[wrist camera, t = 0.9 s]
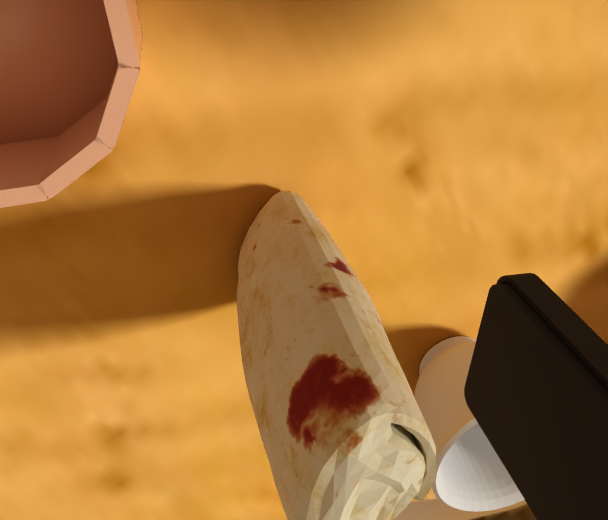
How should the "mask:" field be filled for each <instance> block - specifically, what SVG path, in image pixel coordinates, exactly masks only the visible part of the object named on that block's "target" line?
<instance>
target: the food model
mask: <svg viewBox="0 0 608 520" xmlns="http://www.w3.org/2000/svg"><path fill="white" fill-rule="evenodd" d="M236 295H237V312H238V325H239V335H240V345H241V355H242V363H243V369H244V375H245V380H246V384H247V388H248V392H249V396H250V400H251V403H252V406H253V410H254V413H255V417H256V420H257V424H258V427H259V431H260V435H261V438H262V441H263V444H264V447H265V450H266V453H267V456H268V459H269V462H270V466H271V470H272V473H273V477H274V481H275V484H276V487H277V490H278V493H279V496H280V499H281V502H282V505H283V508H284V511H285V513H286V516H287V519H288V520H393V519H395V518H396V517H397V516H398V515H399V514H400V513H401V512H402V511H403V510H404V509H405V508H406V506H407V505H408V504H409V503H410V502H411V501H412V499H416V500H422V501H424V499H425V497H426V496H427V494H428V492H429V490H430V488H431V487H432V485H433V483H434V481H435V480H436V478H437V472H436V446H435V444H434V441H433V438H432V436H431V433H430V431H429V428H428V426H427V424H426V422H425V420H424V418H423V415H422V413H421V411H420V409H419V407H418V404H417V402H416V400H415V397H414V395H413V393H412V390H411V388H410V386H409V383H408V381H407V379H406V376H405V374H404V372H403V370H402V368H401V366H400V364H399V362H398V360H397V358H396V355H395V353H394V351H393V349H392V347H391V344H390V342H389V340H388V337H387V335H386V333H385V330H384V328H383V325H382V323H381V320H380V318H379V315H378V313H377V310H376V308H375V306H374V304H373V302H372V300H371V298H370V296H369V294H368V292H367V290H366V289H365V287H364V286H363V284H362V283H361V281H360V280H359V278H358V277H357V275H356V274H355V272H354V271H353V269H352V268H351V266H350V265H349V263H348V262H347V260H346V259H345V257H344V256H343V254H342V252H341V251H340V249H339V248H338V246H337V245H336V243H335V242H334V240H333V239H332V237H331V236H330V234H329V233H328V231H327V229H326V228H325V226H324V225H323V224H322V223H321V221H320V220H319V219H318V218H317V216H316V215H315V214H314V213H313V211H312V210H311V209H310V207H309V206H308V205H307V204H306V203H305V202H304V200H303V199H302V198H301V197H300V196H299V195H298V194H296V193H293V192H290V191H280V192H278V193H277V194H275V195H273V196H272V197H271V199H270V200H269V201H268V202H267V203H266V204H265V206H264V207H263V208H262V209H261V210H260V212H259V213H258V215H257V217H256V218H255V220H254V221H253V223H252V224H251V226H250V228H249V230H248V232H247V235H246V237H245V239H244V242H243V244H242V247H241V250H240V255H239V260H238V287H237V293H236Z"/></svg>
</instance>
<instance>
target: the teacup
mask: <svg viewBox="0 0 608 520" xmlns="http://www.w3.org/2000/svg"><path fill="white" fill-rule="evenodd" d="M475 344H476V340H475V339H473V338H470V337H466V336H456V337H451V338H448V339H446V340H443V341H441V342H439V343H438V344H436V345H435V346H433V347H432V348H431V349H430V350H429V351H428V352H427V353H426V354H425V356H424V357H423V359H422V361H421V363H420V367H419V375H420V377H419V379H418V382H417V384H416V388H415V396H414V397H415V400H416V402H417V404H418V407H419V409H420V411H421V413H422V415H423V418H424V420H425V422H426V424H427V426H428V428H429V431H430V433H431V436H432V438H433V441H434V444H435V446H436V472H437V478H436V480H435V481H434V483H433V485H432V489H433V492H434V493H435V495H436V497H437V498H438V499H439V500H440V501H442V502H444V503H445V504H446V505H449V506H451V507H454V508H457V509H461V510H465V511H489V510H495V509H499V508H503V507H507V506H510V505H513V504H515V503H518V502H520V501H523V500H525V499H524V497H523V496H522V494H521V493H520V491H519V489H518V488H517V486H516V484H515V483H514V481H513V480H512V478H511V476H510V475H509V473H508V471H507V470H506V468H505V466H504V465H503V463H502V462H501V460H500V458H499V457H498V455H497V453H496V452H495V450H494V449H493V447H492V445H491V444H490V442H489V440H488V439H487V437H486V435H485V434H484V432H483V431H482V429H481V427H480V426H479V424H478V422H477V421H476V419H475V418H474V416H473V414H472V413H471V411H470V409H469V408H468V406H467V404H466V401H465V396H464V387H465V383H466V379H467V375H468V371H469V367H470V363H471V359H472V356H473V352H474V348H475Z"/></svg>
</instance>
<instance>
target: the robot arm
mask: <svg viewBox="0 0 608 520" xmlns="http://www.w3.org/2000/svg"><path fill="white" fill-rule="evenodd" d="M464 396H465V401H466V404H467V406H468V408H469V409H470V411H471V413H472V414H473V416H474V418H475V419H476V421H477V422H478V424H479V426H480V427H481V429H482V431H483V432H484V434H485V435H486V437H487V439H488V440H489V442H490V444H491V445H492V447H493V449H494V450H495V452H496V453H497V455H498V457H499V458H500V460H501V462H502V463H503V465H504V466H505V468H506V470H507V471H508V473H509V475H510V476H511V478H512V480H513V481H514V483H515V484H516V486H517V488H518V489H519V491H520V493H521V494H522V496H523V497H524V499H525V501H526V502H527V504H528V506H529V507H530V509H531V511H532V512H533V514H534V515H535V517H536V519H537V520H608V345H607V344H606V343H605V342H604V341H603V340H602V339H601V338H600V337H599V336H598V335H597V334H596V333H595V332H594V331H593V330H592V329H591V328H590V327H589V326H588V325H587V324H586V323H585V322H584V321H583V320H582V319H581V318H580V317H579V316H578V315H577V314H576V313H575V312H574V311H573V310H572V309H571V308H570V307H569V306H568V305H567V304H565V303H564V302H563V301H562V300H561V299H560V298H559V297H558V296H557V295H556V294H555V293H554V292H553V291H552V290H551V289H550V288H549V287H548V286H547V285H546V284H545V283H544V282H543V281H542V280H541V279H540V278H539V277H538V276H537V275H535V274H532V273H526V274H516V275H506V276H502V277H500V279H499V280H498V281H497V284H495V285H492V287H491V288H490V290H489V293H488V297H487V301H486V305H485V309H484V313H483V316H482V320H481V324H480V328H479V332H478V336H477V340H476V344H475V348H474V352H473V356H472V359H471V363H470V367H469V371H468V375H467V379H466V383H465V387H464Z"/></svg>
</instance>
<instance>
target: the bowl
mask: <svg viewBox="0 0 608 520" xmlns="http://www.w3.org/2000/svg"><path fill="white" fill-rule="evenodd" d="M142 36H143V34H142V29H141V24H140V19H139V15H138V10H137V5H136V1H135V0H0V208H3V207H9V206H16V205H22V204H29V203H35V202H42V201H47V200H48V198H49V199H51V198H53V197H54V196H55V195H57V194H58V193H59V192H60V191H62V190H63V189H64V188H66V187H67V186H68V185H69V184H71V183H72V182H73V181H74V180H76V179H77V178H78V177H80V176H81V175H82V174H83V173H85V172H86V171H87V170H89V169H90V168H91V167H92V166H94V165H95V164H96V163H97V162H99V161H100V160H101V159H103V158H104V157H105V156H106V155H108V154H109V153H110V152H112V148H114V147H115V144H116V141H117V138H118V135H119V132H120V129H121V126H122V123H123V120H124V117H125V114H126V111H127V108H128V105H129V102H130V99H131V96H132V92H133V89H134V86H135V83H136V80H137V77H138V74H139V71H140V62H141V50H142Z"/></svg>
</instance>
